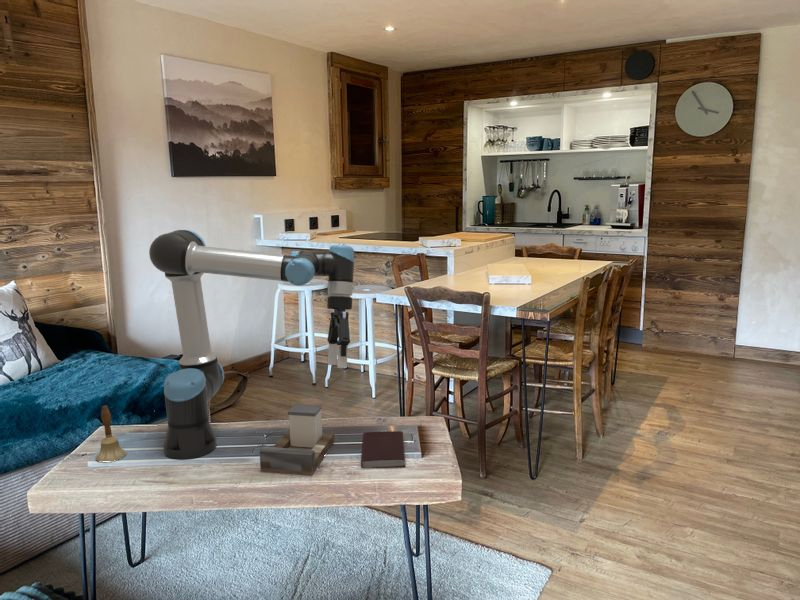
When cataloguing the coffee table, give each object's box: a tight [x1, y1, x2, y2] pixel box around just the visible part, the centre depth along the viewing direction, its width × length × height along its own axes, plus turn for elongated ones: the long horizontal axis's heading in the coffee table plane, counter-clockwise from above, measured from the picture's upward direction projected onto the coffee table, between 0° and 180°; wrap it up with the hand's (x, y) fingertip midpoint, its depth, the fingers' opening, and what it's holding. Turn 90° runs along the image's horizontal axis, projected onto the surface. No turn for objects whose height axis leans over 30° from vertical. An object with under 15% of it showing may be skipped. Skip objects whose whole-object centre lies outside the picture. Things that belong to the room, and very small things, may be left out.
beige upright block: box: [287, 403, 323, 448], centre depth 186 cm, size 6×8×11 cm
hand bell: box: [95, 405, 127, 462], centre depth 181 cm, size 8×8×16 cm
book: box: [360, 430, 406, 469], centre depth 182 cm, size 12×19×3 cm, turn 1°
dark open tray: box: [259, 429, 335, 476], centre depth 180 cm, size 21×15×6 cm
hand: (337, 366), depth 187 cm, fingers open, 13 cm apart
